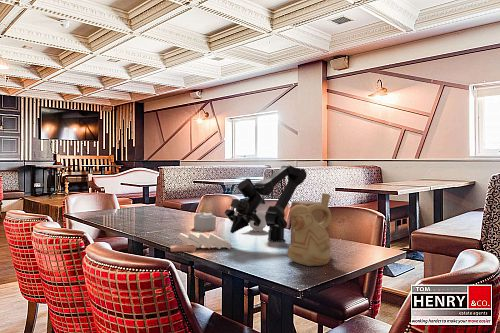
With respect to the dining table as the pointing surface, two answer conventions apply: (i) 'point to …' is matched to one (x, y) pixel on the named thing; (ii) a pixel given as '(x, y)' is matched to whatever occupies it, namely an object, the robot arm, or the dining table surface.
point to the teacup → (262, 225)
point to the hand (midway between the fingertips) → (231, 232)
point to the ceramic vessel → (310, 234)
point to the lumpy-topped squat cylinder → (204, 221)
